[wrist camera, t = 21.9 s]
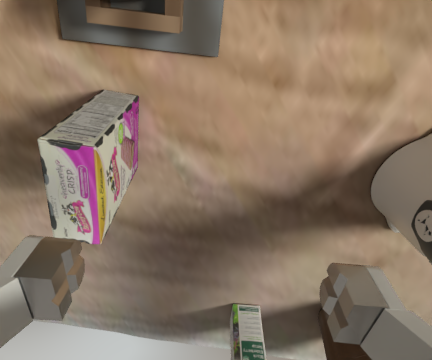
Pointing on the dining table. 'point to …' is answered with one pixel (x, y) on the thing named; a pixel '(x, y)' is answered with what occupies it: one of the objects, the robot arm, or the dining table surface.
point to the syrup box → (246, 333)
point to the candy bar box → (90, 165)
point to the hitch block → (145, 23)
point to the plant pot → (339, 344)
